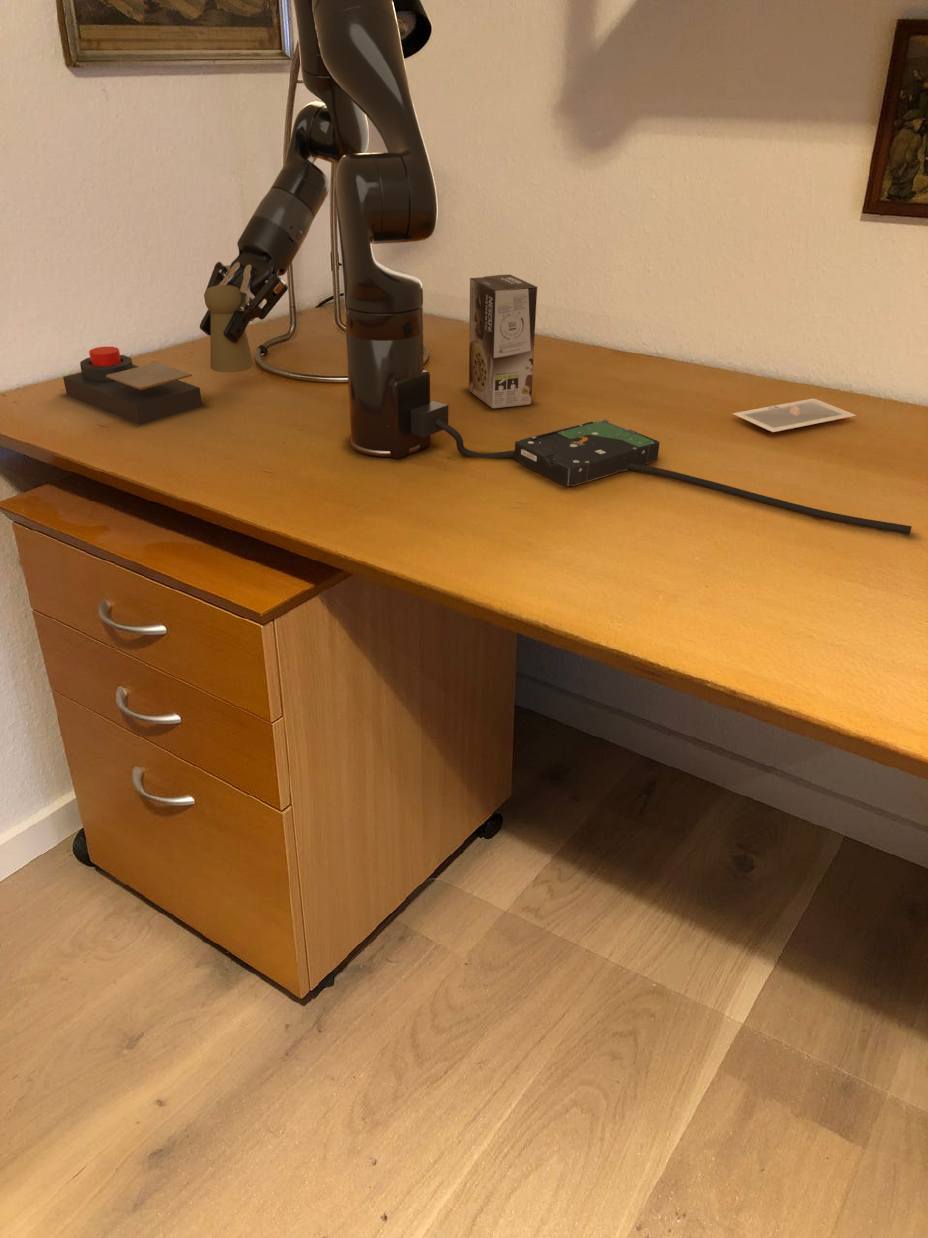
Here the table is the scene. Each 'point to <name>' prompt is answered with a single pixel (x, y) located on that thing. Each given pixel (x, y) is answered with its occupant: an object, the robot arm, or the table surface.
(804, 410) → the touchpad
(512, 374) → the coffee box
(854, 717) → the table surface
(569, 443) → the disk drive
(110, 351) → the button
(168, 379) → the plate
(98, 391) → the machine
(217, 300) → the olive pawn piece
